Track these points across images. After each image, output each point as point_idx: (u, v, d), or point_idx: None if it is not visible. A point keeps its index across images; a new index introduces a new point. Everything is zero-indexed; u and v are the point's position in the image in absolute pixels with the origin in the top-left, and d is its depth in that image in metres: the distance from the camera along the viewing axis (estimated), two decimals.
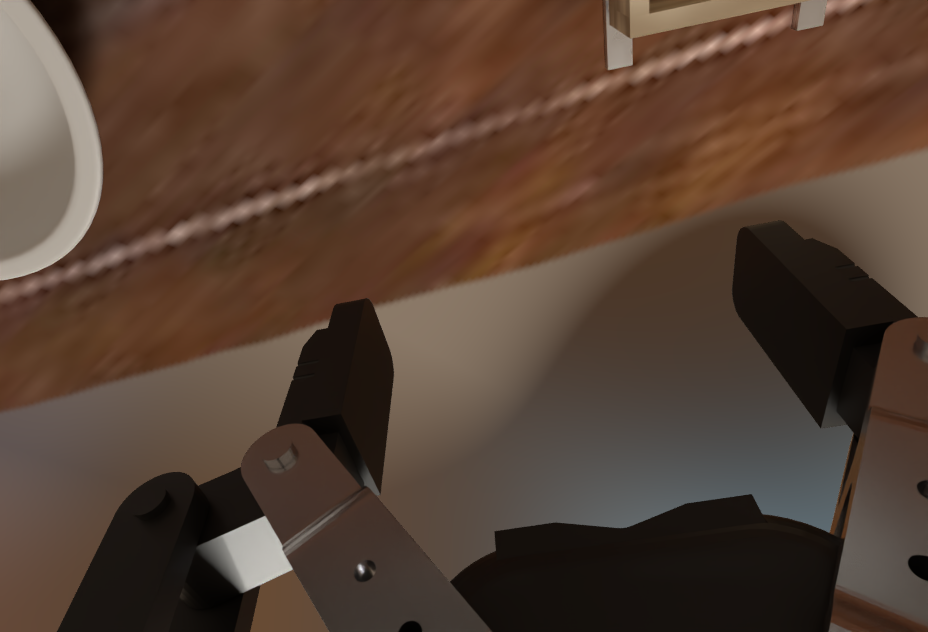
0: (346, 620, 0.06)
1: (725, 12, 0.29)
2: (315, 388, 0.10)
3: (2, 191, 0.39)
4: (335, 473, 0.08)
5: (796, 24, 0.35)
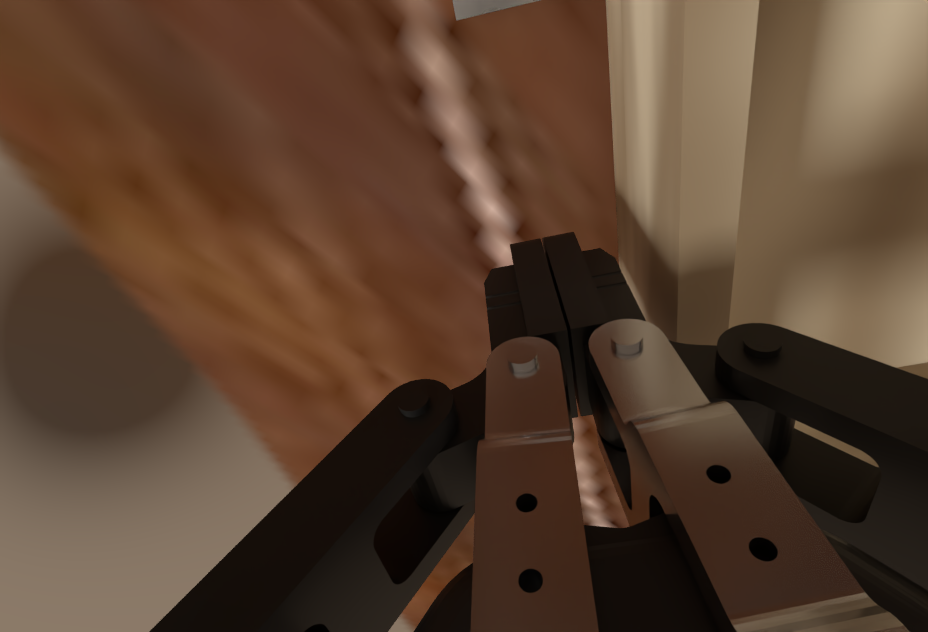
0: (490, 531, 0.06)
1: (696, 229, 0.10)
2: (528, 310, 0.10)
3: None
4: (556, 403, 0.08)
5: None
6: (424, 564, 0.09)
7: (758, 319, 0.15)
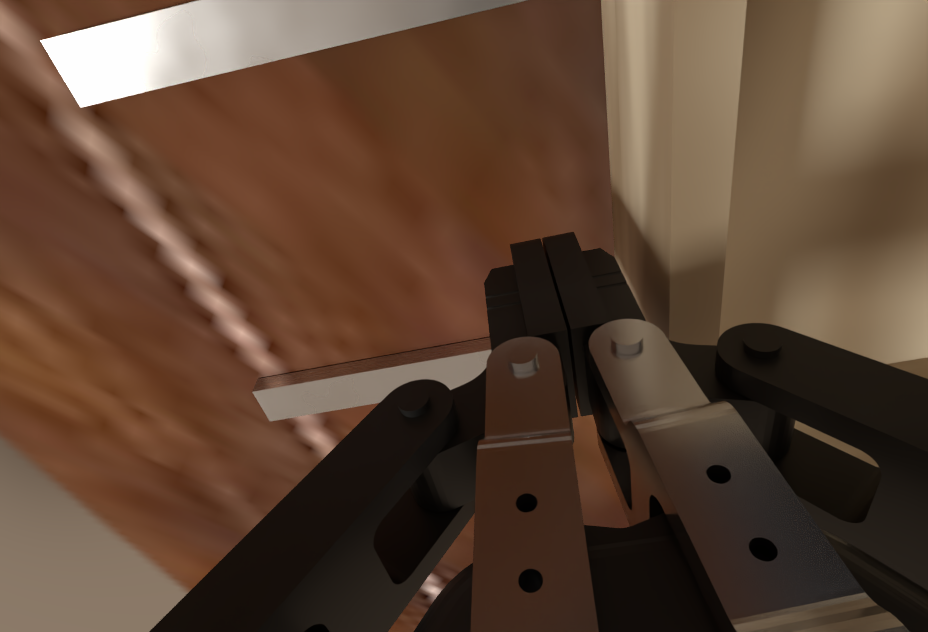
0: (490, 531, 0.06)
1: (687, 223, 0.10)
2: (528, 311, 0.10)
3: None
4: (556, 403, 0.08)
5: (262, 387, 0.20)
6: (424, 564, 0.09)
7: (752, 314, 0.15)
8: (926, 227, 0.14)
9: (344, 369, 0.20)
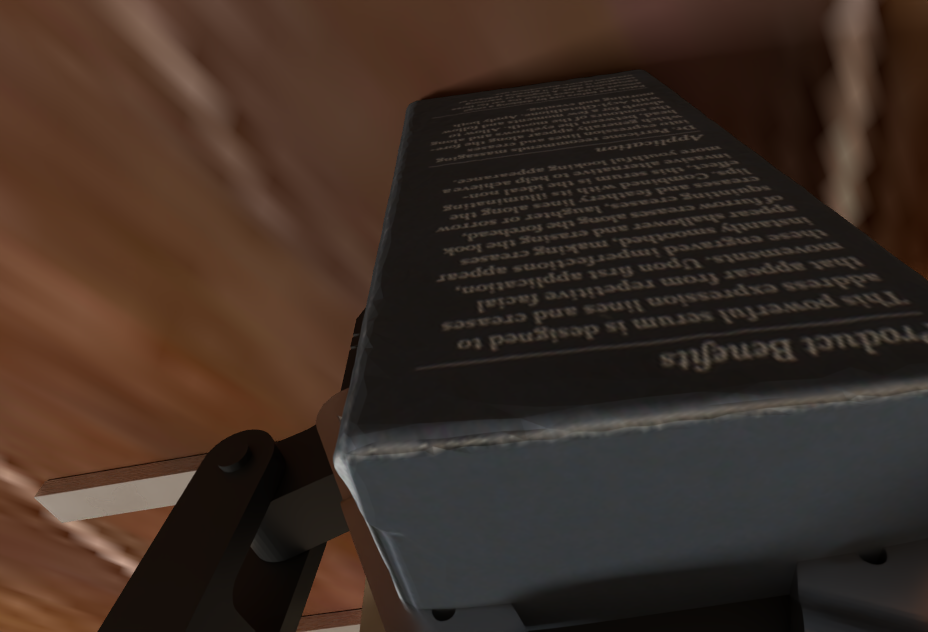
0: (387, 582, 0.06)
1: None
2: None
3: None
4: None
5: None
6: (291, 612, 0.09)
7: None
8: None
9: None
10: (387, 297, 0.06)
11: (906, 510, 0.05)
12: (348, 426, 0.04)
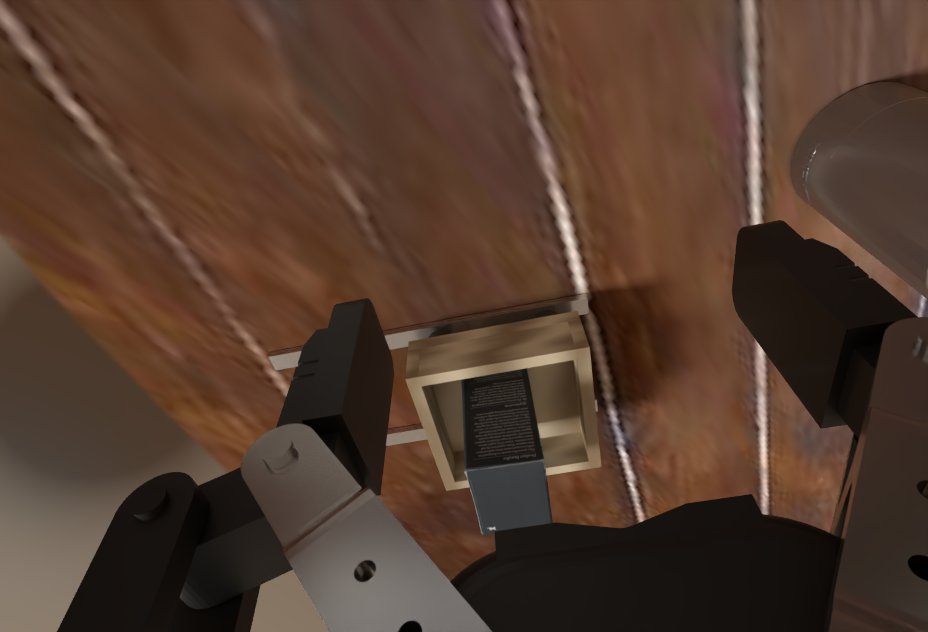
0: (346, 620, 0.06)
1: (424, 422, 0.45)
2: (315, 388, 0.10)
3: None
4: (335, 473, 0.08)
5: None
6: None
7: None
8: None
9: None
10: (467, 446, 0.39)
11: (535, 476, 0.38)
12: (466, 467, 0.38)
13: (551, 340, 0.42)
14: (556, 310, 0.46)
